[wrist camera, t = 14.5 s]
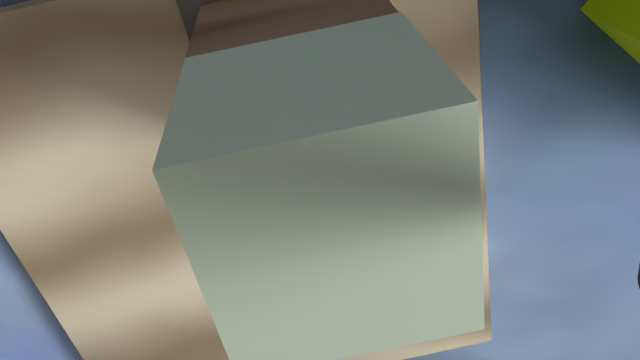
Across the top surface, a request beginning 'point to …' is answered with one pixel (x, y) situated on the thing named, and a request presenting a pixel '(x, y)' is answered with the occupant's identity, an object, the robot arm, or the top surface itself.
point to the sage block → (328, 192)
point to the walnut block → (273, 20)
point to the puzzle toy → (617, 22)
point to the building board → (136, 168)
